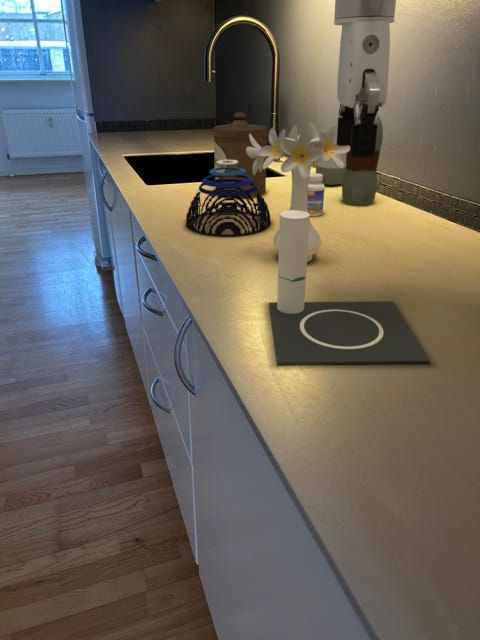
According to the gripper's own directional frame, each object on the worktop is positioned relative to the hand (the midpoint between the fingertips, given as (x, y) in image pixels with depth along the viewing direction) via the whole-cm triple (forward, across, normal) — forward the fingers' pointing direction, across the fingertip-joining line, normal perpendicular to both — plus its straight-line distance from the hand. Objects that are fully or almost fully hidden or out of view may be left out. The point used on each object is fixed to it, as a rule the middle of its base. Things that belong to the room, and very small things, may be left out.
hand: (354, 150), depth 73 cm
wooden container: (+23, +75, +16) cm, 80 cm away
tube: (+23, -3, +9) cm, 25 cm away
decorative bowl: (+23, +44, +19) cm, 53 cm away
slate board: (+24, -10, +2) cm, 26 cm away
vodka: (+24, +63, -16) cm, 69 cm away
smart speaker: (+24, +85, -13) cm, 89 cm away
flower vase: (+24, +20, +6) cm, 32 cm away
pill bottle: (+24, +52, -2) cm, 57 cm away
